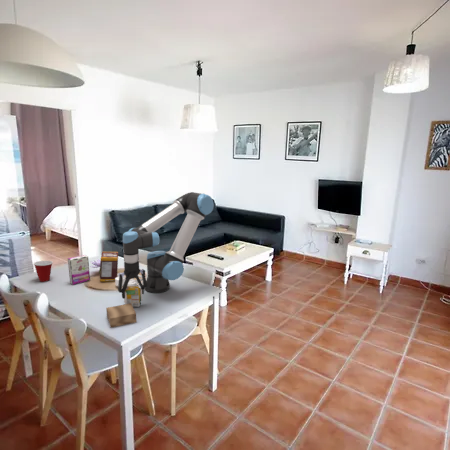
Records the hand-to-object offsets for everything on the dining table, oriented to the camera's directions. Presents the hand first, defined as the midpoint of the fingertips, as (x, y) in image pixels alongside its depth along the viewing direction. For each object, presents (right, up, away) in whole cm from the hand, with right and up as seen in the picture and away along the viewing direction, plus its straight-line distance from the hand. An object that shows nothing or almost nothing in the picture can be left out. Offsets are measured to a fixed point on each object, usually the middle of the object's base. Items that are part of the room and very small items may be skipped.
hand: (133, 301), depth 170 cm
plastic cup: (-67, +6, +33) cm, 75 cm away
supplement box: (-28, +6, +39) cm, 49 cm away
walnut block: (-2, -6, -13) cm, 15 cm away
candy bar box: (-43, +5, +32) cm, 54 cm away
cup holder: (-9, +2, +25) cm, 27 cm away
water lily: (-37, +8, +46) cm, 60 cm away
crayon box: (0, -2, 0) cm, 2 cm away
